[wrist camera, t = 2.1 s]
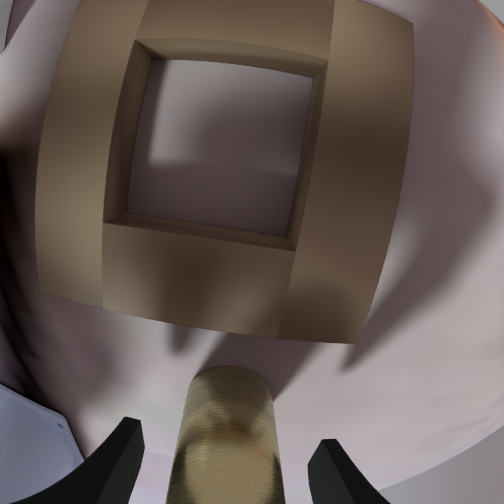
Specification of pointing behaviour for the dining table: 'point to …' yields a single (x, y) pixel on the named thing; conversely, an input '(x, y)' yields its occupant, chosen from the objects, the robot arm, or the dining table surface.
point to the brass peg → (227, 442)
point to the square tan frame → (215, 237)
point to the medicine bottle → (4, 20)
